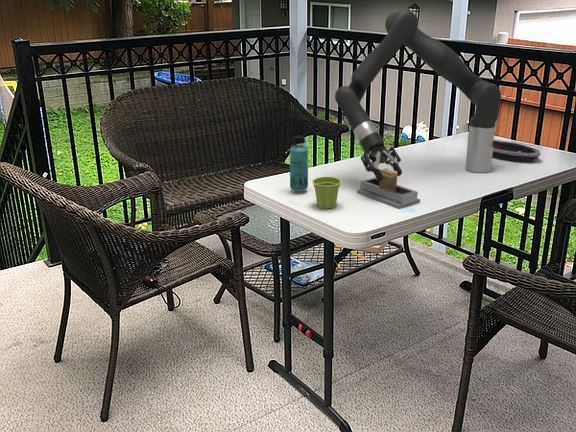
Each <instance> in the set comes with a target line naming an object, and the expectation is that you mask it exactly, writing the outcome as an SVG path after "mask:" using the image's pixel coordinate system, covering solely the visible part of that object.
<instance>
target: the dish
mask: <svg viewBox="0 0 576 432" xmlns="http://www.w3.org/2000/svg"><path fill="white" fill-rule="evenodd" d="M541 154H542V153H541V151H540V150H539V149H537V148H535V147H532V146H528V145H525V144H521V143H517V142H513V141H512V142H511V141H505V140H497V139H493V154H492V158H495V159H499V160H504V161H505V160H506V161H512V162H517V163H518V162H520V163H526V162H527V163H529V162H530V163H531V162H535V161H536V160H538V158H540V156H541Z"/></svg>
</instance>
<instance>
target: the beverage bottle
mask: <svg viewBox="0 0 576 432" xmlns="http://www.w3.org/2000/svg"><path fill="white" fill-rule="evenodd" d="M292 140H293V141H292V144H293V145H292V146H291V147H290V148H289V160H290V161H289V188H290V189H291V190H293V191H305V190H308V187H309V148H308V147H307V146H306V145H304V144H305V143H306V137H305V136H303V135H293V138H292Z"/></svg>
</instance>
